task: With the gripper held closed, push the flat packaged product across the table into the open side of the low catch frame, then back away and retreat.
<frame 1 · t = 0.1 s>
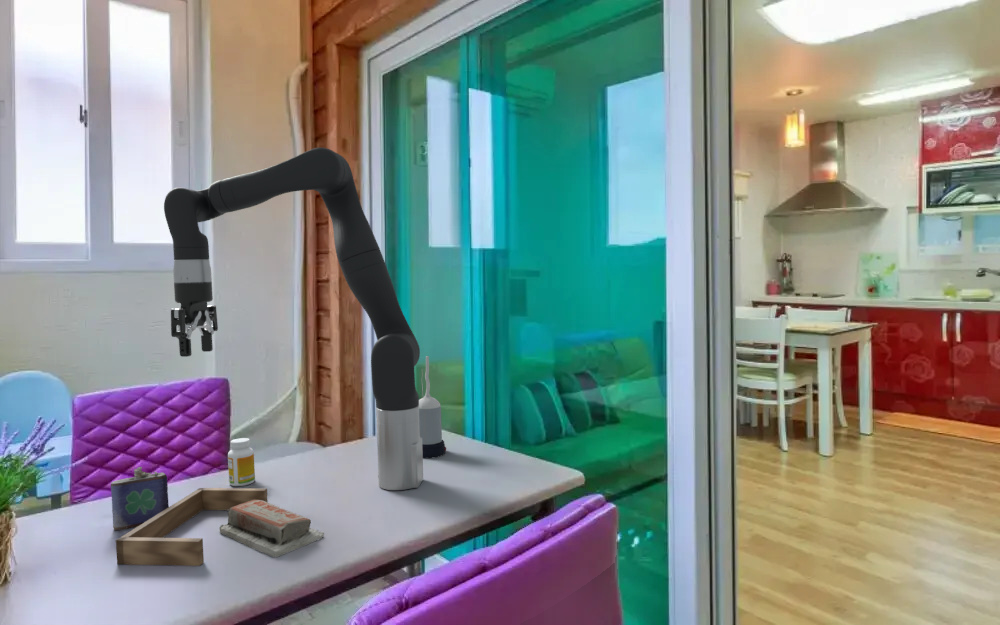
hand: (196, 353, 139), 29 cm above the table, tool pointing down, fingers open, 8 cm apart
humidifier: (429, 454, 161), on the table
supplement bottle: (242, 483, 141), on the table
packaged product: (270, 538, 112), on the table
catch frame: (201, 533, 113), on the table
flask: (142, 524, 119), on the table
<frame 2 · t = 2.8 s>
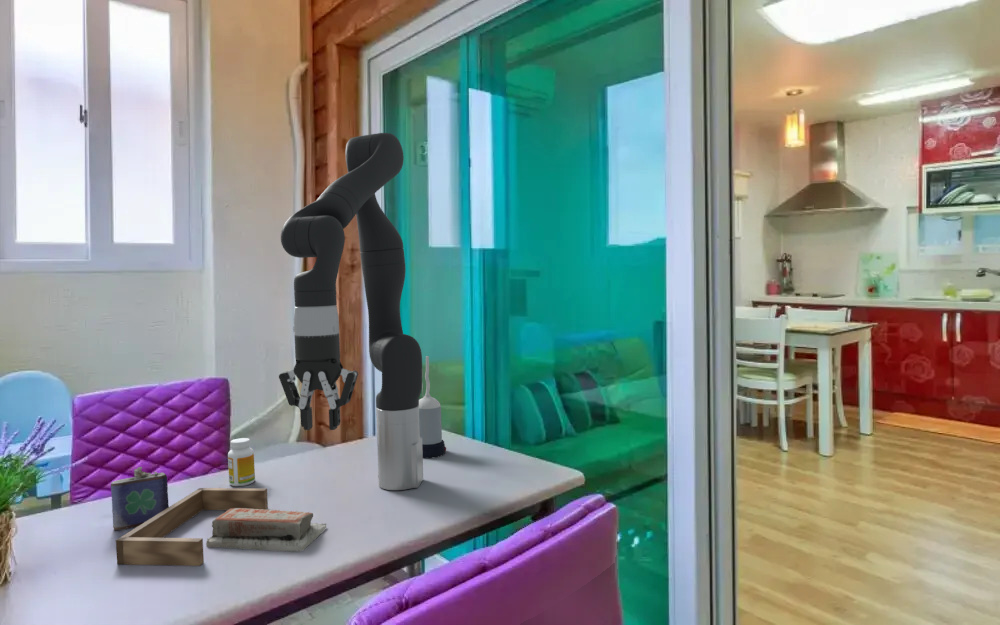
hand: (320, 428, 110), 19 cm above the table, tool pointing down, fingers open, 4 cm apart
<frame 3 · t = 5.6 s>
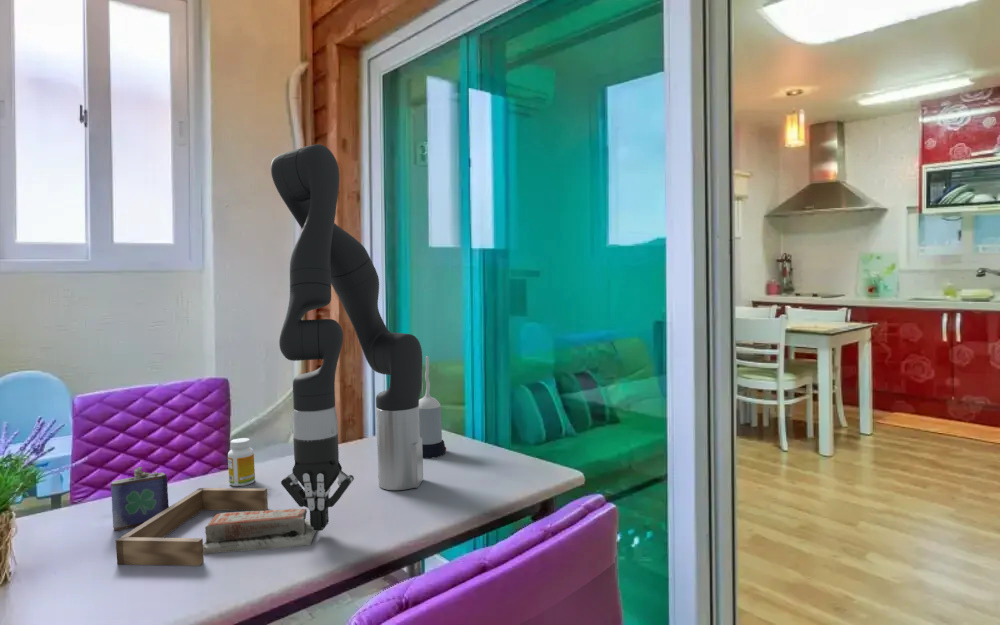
hand: (319, 528, 111), 1 cm above the table, tool pointing down, fingers closed
packaged product: (263, 541, 111), on the table, touching gripper
everything else where it was.
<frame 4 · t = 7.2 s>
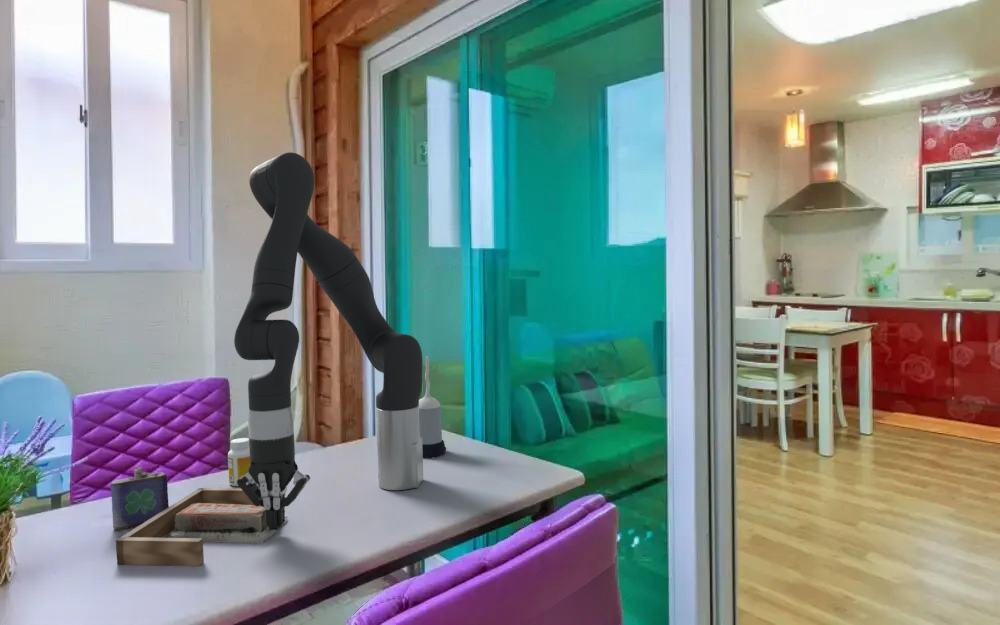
hand: (275, 528, 112), 1 cm above the table, tool pointing down, fingers closed
packaged product: (229, 534, 115), on the table, touching gripper
everything else where it was.
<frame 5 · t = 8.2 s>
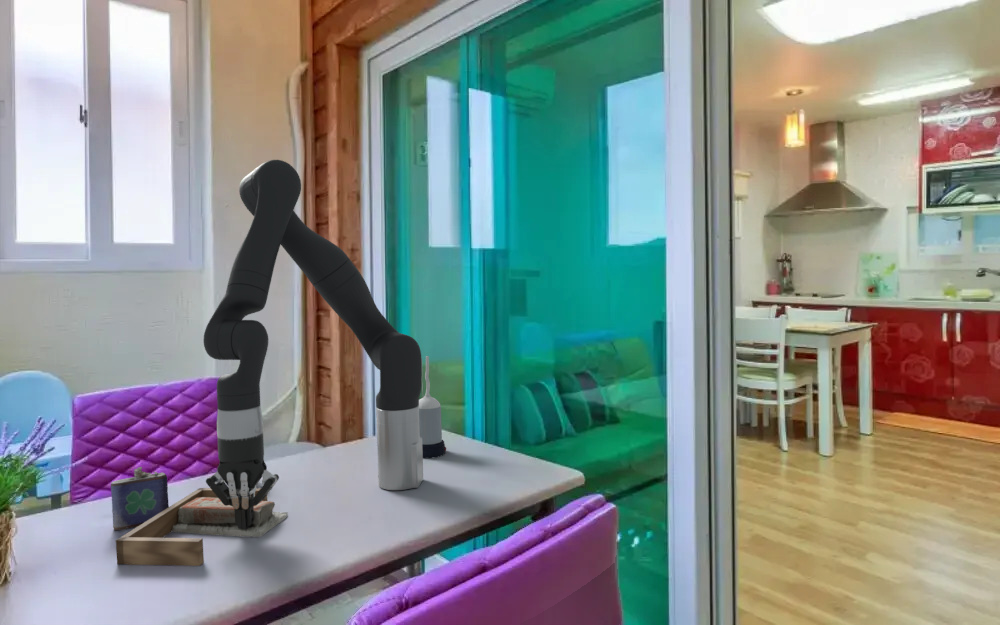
hand: (244, 527, 112), 1 cm above the table, tool pointing down, fingers closed
packaged product: (231, 528, 118), on the table, touching gripper
everything else where it was.
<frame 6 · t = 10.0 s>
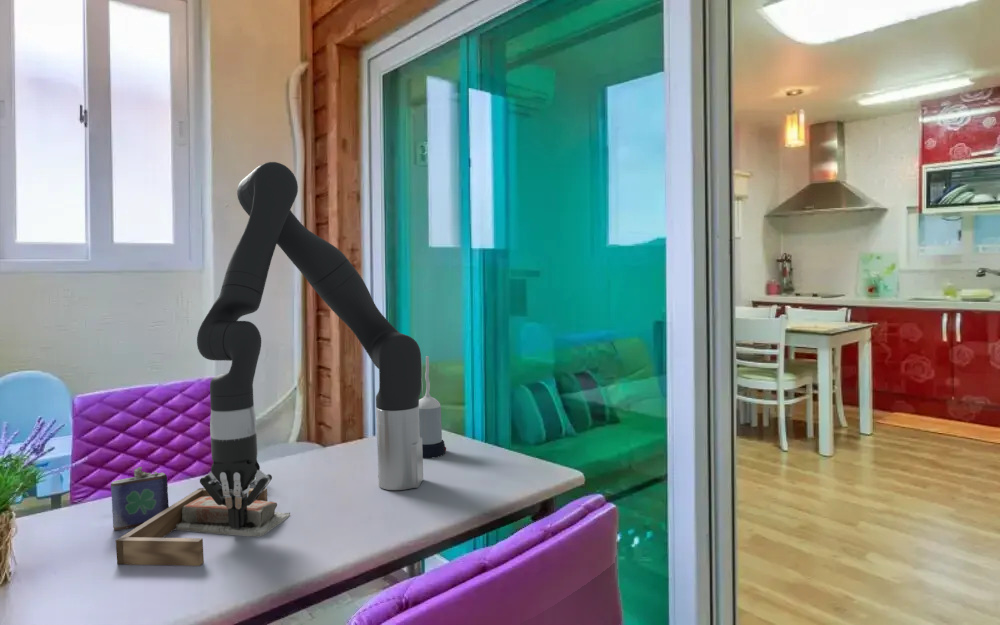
hand: (238, 526, 113), 1 cm above the table, tool pointing down, fingers closed
nothing on the table moved.
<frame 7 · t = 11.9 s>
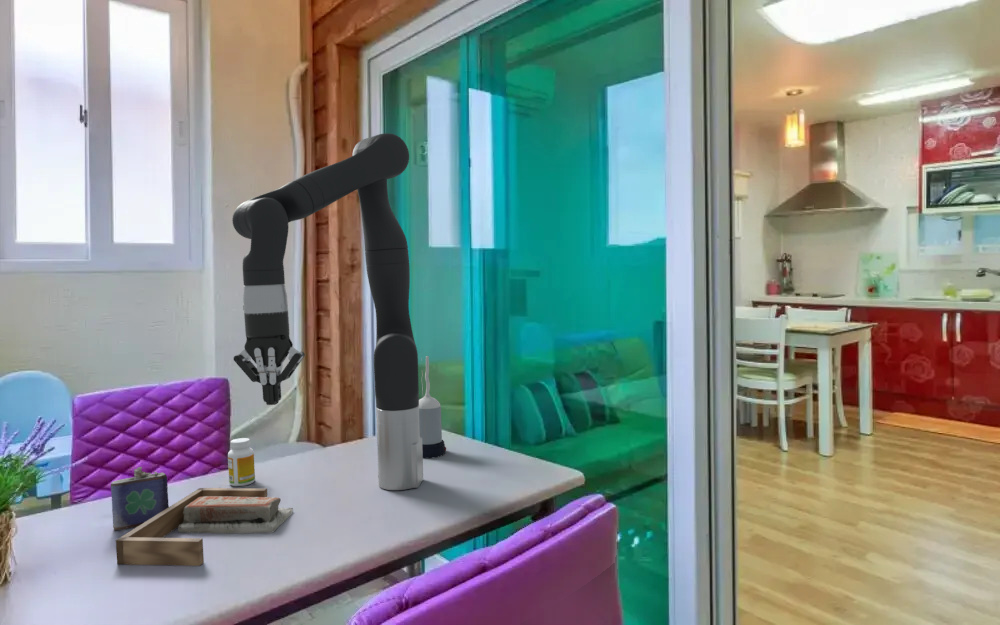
hand: (272, 403, 115), 23 cm above the table, tool pointing down, fingers closed
packaged product: (237, 525, 118), on the table
everything else where it was.
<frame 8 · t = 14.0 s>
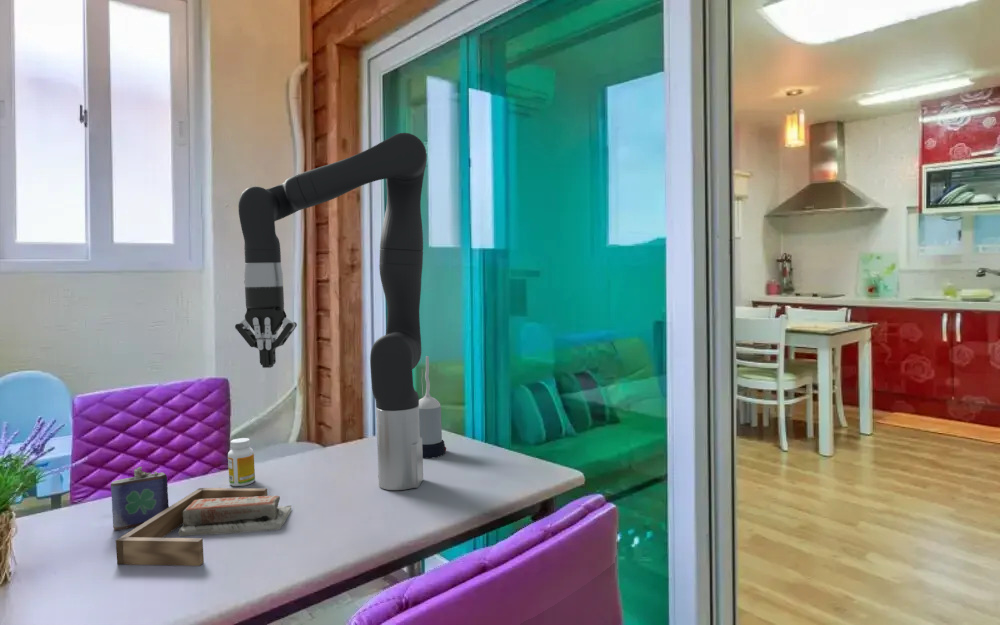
hand: (267, 367, 132), 27 cm above the table, tool pointing down, fingers closed
at the end: packaged product inside the target area (6.9 cm from its centre), on the table; the gripper is holding nothing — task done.
